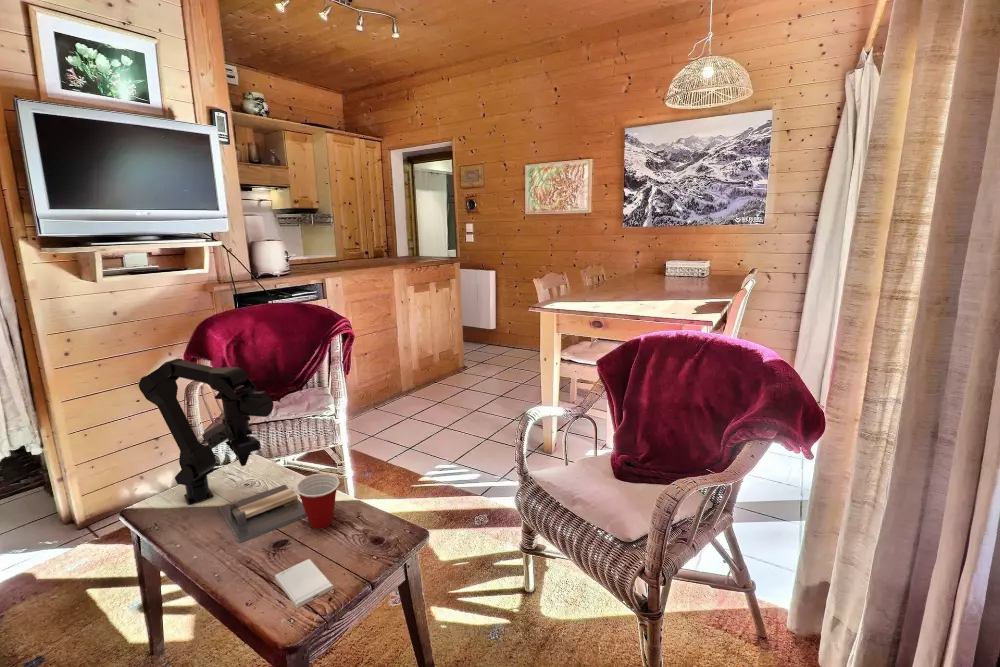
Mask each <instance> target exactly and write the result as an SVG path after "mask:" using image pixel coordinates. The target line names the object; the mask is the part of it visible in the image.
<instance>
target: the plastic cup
mask: <svg viewBox="0 0 1000 667" xmlns="http://www.w3.org/2000/svg"><path fill="white" fill-rule="evenodd" d="M339 485H340V479H339V478H338V477H337V476H336V475H334V474H332V473H331V474H330V473H325V472H324V473H322V472H321V473H316V474H315V473H313V474H310V475H308V476H305V477H304V478H302V479H300V480H299V481H298V482H297V484H296V485H295V491H296V492H297V494H298V495H299V497H300V500H301V503H302V504H303V506H304V510H305V513H306V516H307V517H306V518H307V520H308V523H309V526H310V527H311V529H314V530H323V529H326V528H328V527H329V526H331V525H332V524H331V523H333V522H332V521H334V515H335V514H334V512H335V505H336V496H337V495H336V494H337V491H338V488H339ZM330 524H331V525H330Z"/></svg>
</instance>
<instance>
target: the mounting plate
mask: <svg viewBox="0 0 1000 667" xmlns="http://www.w3.org/2000/svg"><path fill="white" fill-rule="evenodd" d="M287 489H290V488H289V487H288V486H287V485H286V484H283V485H280V486H279V485H278V486H277V487H274V488H271V489H268V490H265V491H263V492H259V493H256V494H253V495H250V496H247V497H243V498H241V499H238V500H235V501H231V502H228V503H227V504H223V505H220V506H219V510H220V513H221V514H222V516H223V518H224V519H225V521H226V523H227V525H228V527H229V528H230V530H231V532H232V533H233V535H234V537H235V538H236V541H237V542H238V544H240V543H243V542H245V541H247V540H251V539H253V538H255V537H257V536H261V535H263V534H265V533H269V532H271V531H274V530H276V529H279V528H282V527H284V526H285V525H289V524H291V523H294V522H296V521H299V520H302V519H304V518H305V519H306V518H307V516H306V513H305V510H304V506H303V503H302V501H300V499H299V498H298V499H295V500H292V501H290V502H287V503H285V504H282V505H280V506H277V507H275V508H272V509H269V510H267V511H264V512H262V513H259V514H257V515H254V516H251V517H249V518H246V515H245V512H244V511H242V512H240V513H237V514H236V518H235V516H234V515H233V513H232V510H233V509H234V508H239V507H241V506H244V505H247V504H249V503H252V502H255V501H257V500H260V499H263V498H266V497H268V496H271V495H274V494H276V493H279V492H282V491H284V490H287ZM236 519H237V520H236Z"/></svg>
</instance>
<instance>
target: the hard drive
mask: <svg viewBox="0 0 1000 667" xmlns="http://www.w3.org/2000/svg"><path fill="white" fill-rule="evenodd" d="M274 580H275V581H276V582H277V584H278V585H279V586H280V588H281V589H282V590H283V592H284V593H285V595H286V596H288V598H289V600H290V601H291V602H292V603H293V605H294V606H295V607H296V609H299V608H301V607H302V606H304V605H306V604H308V603H310V602H312V601H313V600H316V599H317V598H319V597H321V596H323V595H325V594H327V593H329V592H330V591H332V590H335V588H334V587H335V586H334V584H333V583H332V582H331V581H330V580H329V579H328V578H327V577H326V576H325V574H324V573H323V572H322V571H321V570H320V569H319V567H317V565H316V564H315V563H314V562H313V561H312V560H311V558H307V559H305V560H303V561H301V562H299V563H297V564H295V565H292V566H291V567H289V568H287V569H285V570H283V571H280V572H279V573H276V574H275V575H274Z"/></svg>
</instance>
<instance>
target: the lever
mask: <svg viewBox="0 0 1000 667" xmlns="http://www.w3.org/2000/svg"><path fill="white" fill-rule="evenodd" d="M295 499H298V500H299V497H298V493H296V492H295V491H294V489H292V487H290V488H289V489H287V490H284V491H282V492H279V493H276V494H274V495H271V496H268V497H266V498H263V499H260V500H257V501H255V502H252V503H249V504H247V505H244V506H241V507H239V508H234V509H233V510H232V513H233V515H234V516H235V518H236V514H237V513H240V512H242V511H244V512H245V515H246V518H249V517H251V516H254V515H257V514H259V513H262V512H264V511H267V510H269V509H272V508H275V507H277V506H280V505H282V504H285V503H287V502H290V501H292V500H295ZM236 520H237V519H236Z"/></svg>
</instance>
